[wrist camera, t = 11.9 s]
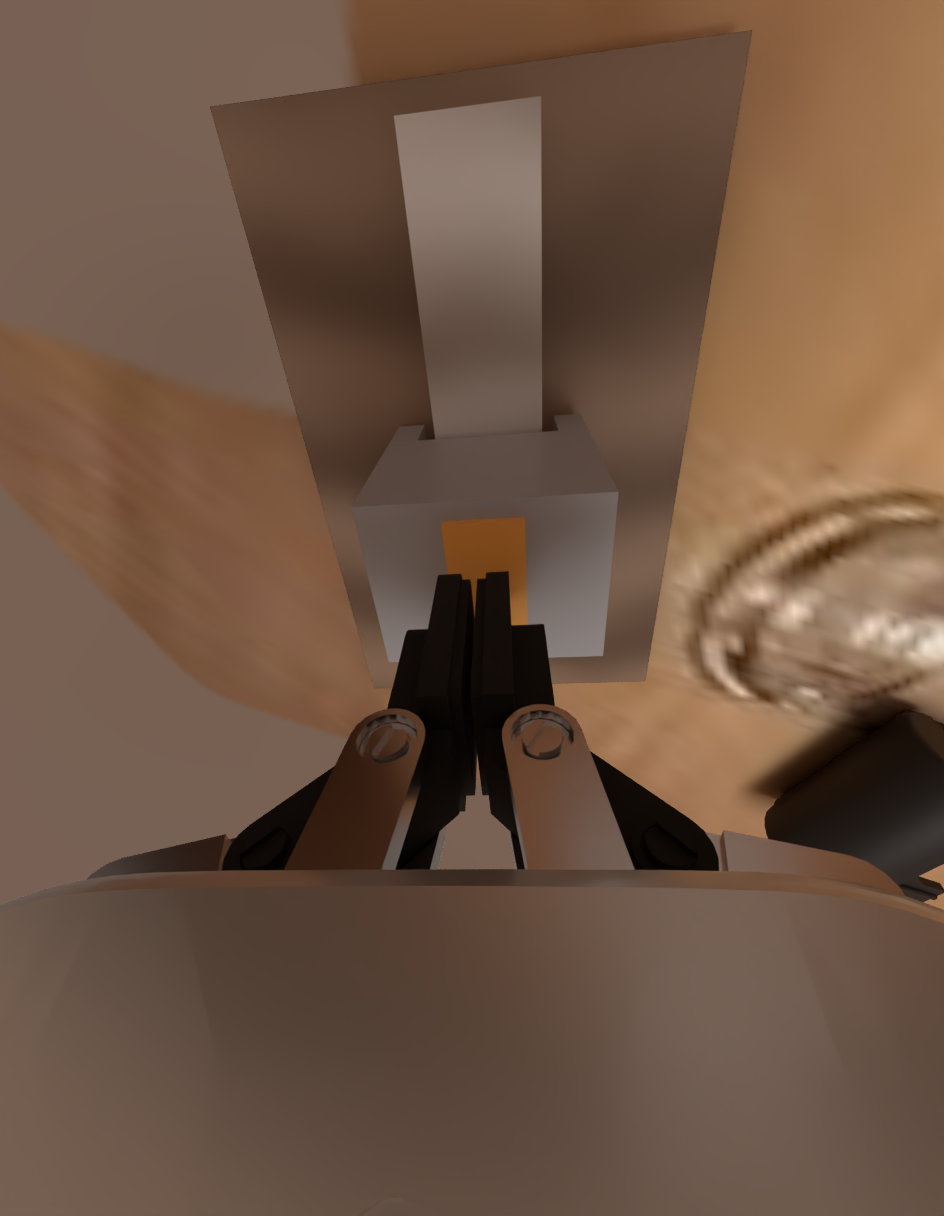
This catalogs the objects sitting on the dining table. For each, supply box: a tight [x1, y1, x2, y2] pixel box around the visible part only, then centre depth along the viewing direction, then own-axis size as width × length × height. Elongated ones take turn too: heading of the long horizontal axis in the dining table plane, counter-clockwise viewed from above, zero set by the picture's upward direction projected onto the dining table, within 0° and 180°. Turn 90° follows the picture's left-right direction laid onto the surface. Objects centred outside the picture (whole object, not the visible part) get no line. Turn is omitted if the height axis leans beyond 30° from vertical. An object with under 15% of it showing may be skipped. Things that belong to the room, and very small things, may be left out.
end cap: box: [765, 710, 944, 902], centre depth 26 cm, size 10×7×7 cm
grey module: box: [351, 413, 619, 662], centre depth 16 cm, size 5×6×7 cm
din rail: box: [210, 30, 752, 688], centre depth 19 cm, size 22×14×3 cm, turn 5°
